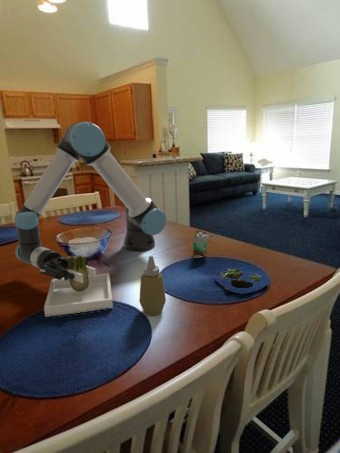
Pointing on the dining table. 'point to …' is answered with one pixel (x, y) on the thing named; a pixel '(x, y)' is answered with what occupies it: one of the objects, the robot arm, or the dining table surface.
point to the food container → (200, 243)
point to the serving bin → (78, 296)
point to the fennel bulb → (81, 269)
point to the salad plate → (235, 275)
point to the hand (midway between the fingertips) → (88, 275)
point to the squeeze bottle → (152, 289)
